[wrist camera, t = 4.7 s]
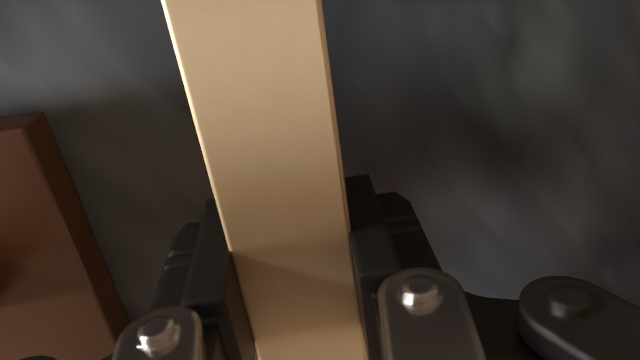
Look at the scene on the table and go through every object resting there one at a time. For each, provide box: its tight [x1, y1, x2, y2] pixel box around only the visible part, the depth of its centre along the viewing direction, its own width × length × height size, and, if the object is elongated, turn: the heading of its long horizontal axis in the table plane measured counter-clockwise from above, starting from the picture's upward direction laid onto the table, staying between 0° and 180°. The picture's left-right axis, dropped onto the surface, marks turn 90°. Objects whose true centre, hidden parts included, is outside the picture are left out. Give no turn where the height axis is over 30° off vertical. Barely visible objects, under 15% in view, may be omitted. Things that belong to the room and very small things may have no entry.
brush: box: [161, 0, 368, 360], centre depth 11 cm, size 20×4×3 cm, turn 8°
